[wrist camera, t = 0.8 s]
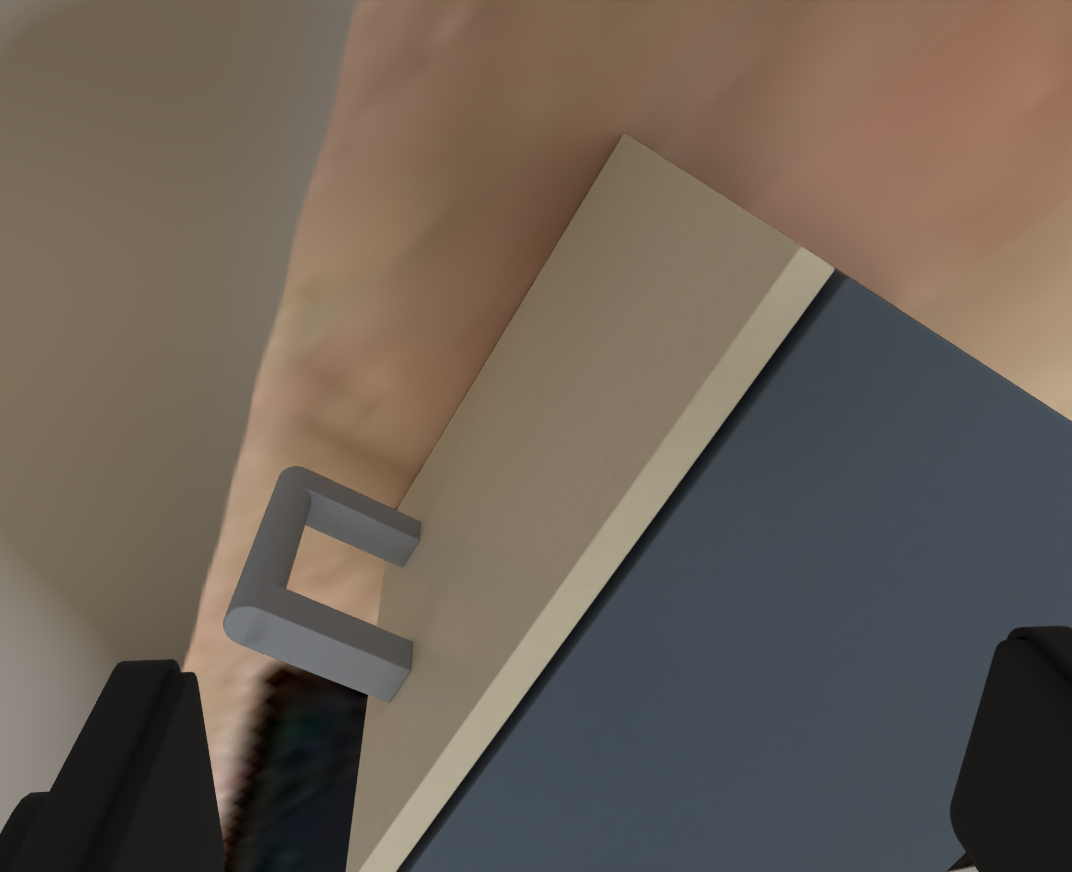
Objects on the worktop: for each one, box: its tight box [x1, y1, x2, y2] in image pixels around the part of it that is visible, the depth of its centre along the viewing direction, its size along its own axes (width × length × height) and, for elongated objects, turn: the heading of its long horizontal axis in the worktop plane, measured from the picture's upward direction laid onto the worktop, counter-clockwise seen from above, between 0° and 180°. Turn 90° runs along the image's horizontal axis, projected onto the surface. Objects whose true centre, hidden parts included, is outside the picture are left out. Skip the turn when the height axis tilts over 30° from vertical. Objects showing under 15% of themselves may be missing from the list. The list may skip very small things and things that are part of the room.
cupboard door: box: [223, 133, 834, 872], centre depth 31 cm, size 7×22×22 cm, turn 149°
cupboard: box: [396, 268, 1072, 872], centre depth 35 cm, size 15×22×22 cm
